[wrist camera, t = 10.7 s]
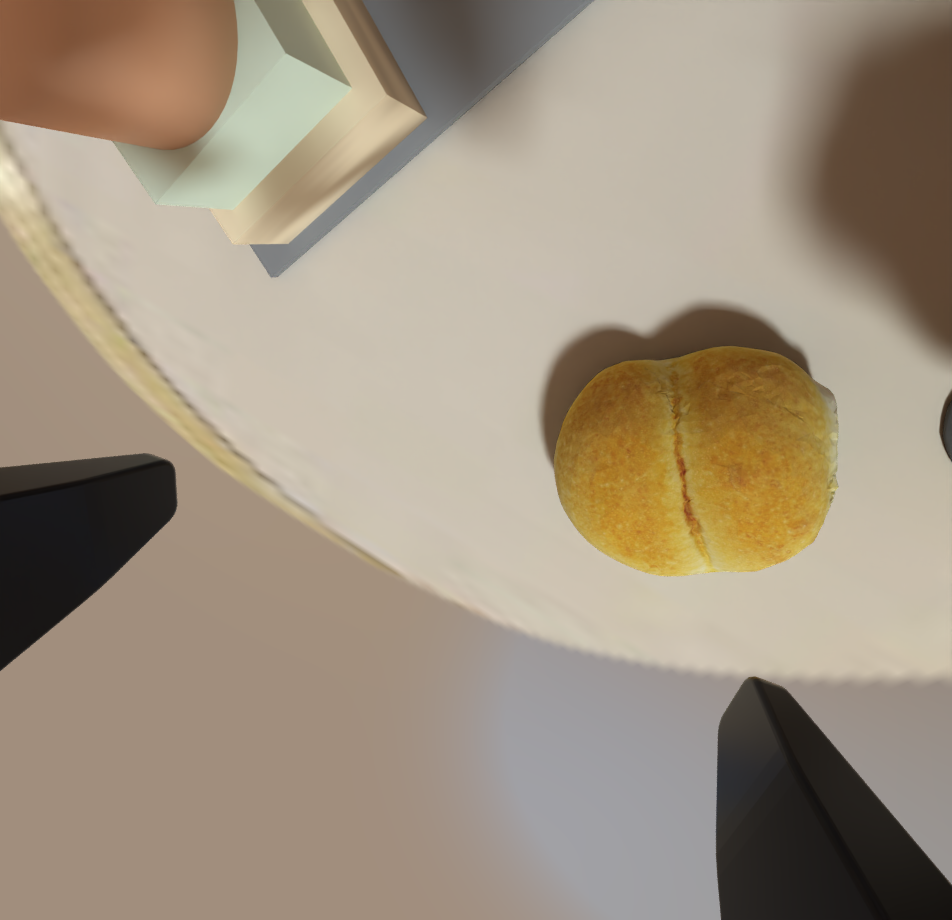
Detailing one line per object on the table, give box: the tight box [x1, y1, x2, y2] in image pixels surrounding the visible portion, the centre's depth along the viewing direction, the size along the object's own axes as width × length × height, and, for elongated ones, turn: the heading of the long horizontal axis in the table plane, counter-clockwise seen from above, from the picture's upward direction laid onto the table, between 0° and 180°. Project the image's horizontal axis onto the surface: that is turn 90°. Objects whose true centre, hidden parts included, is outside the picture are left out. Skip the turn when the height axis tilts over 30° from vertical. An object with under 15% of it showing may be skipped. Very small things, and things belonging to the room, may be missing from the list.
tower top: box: [113, 0, 352, 210], centre depth 14 cm, size 6×6×3 cm
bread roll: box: [554, 346, 838, 576], centre depth 17 cm, size 8×9×4 cm
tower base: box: [209, 0, 427, 244], centre depth 16 cm, size 7×7×3 cm
